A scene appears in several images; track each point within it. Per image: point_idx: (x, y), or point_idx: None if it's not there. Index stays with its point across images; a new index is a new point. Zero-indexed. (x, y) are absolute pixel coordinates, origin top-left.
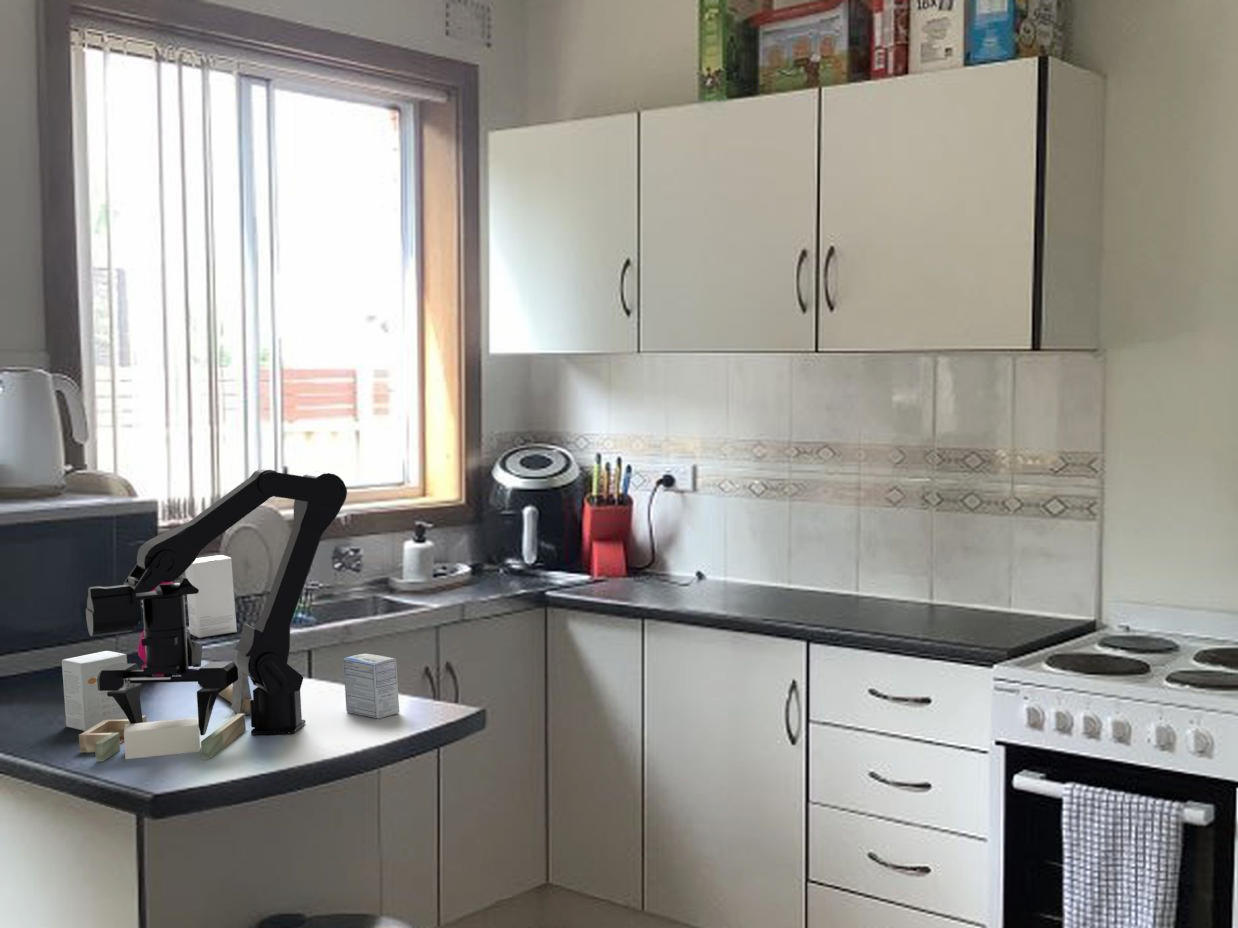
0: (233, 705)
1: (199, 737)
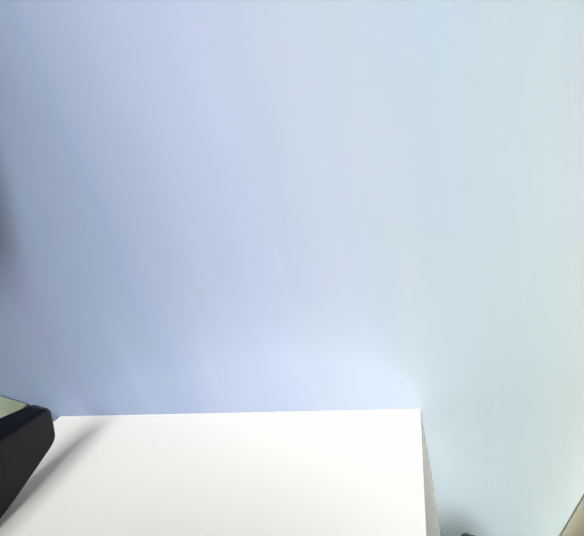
0: None
1: (427, 478)
